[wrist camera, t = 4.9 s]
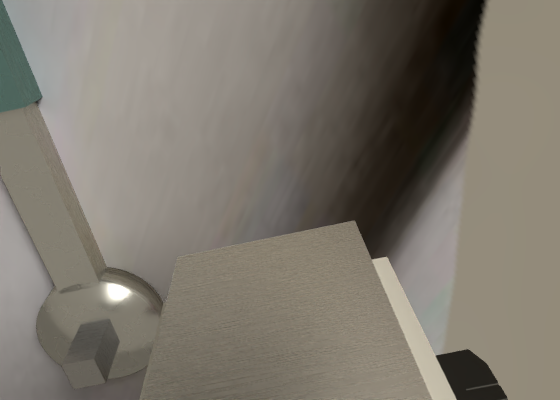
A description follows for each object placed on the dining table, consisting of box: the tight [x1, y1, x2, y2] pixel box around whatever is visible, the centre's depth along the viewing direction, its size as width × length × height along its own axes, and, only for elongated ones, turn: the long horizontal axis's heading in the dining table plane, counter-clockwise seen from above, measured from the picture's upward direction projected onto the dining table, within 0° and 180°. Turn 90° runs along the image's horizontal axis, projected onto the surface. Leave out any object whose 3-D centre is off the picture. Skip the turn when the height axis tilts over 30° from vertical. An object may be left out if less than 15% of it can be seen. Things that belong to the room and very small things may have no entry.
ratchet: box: [0, 0, 163, 389], centre depth 29 cm, size 32×9×6 cm, turn 11°
